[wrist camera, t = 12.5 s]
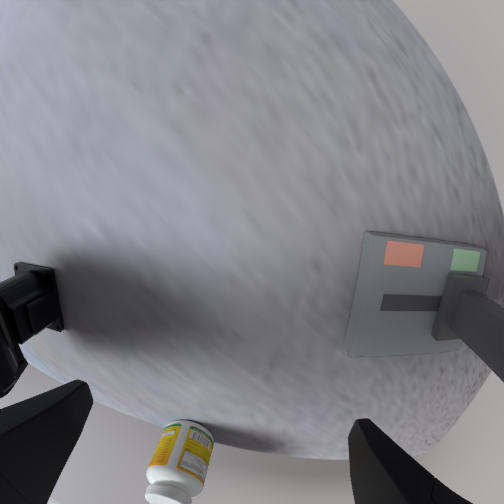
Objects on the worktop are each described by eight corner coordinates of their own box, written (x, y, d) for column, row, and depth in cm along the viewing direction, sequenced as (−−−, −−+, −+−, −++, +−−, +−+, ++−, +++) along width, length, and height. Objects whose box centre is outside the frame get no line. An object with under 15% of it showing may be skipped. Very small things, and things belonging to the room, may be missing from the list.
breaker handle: (430, 335, 18) (504, 422, 7) (447, 273, 16) (548, 339, 6) (465, 332, 17) (537, 404, 7) (481, 275, 16) (573, 331, 6)
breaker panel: (343, 343, 21) (349, 357, 19) (364, 230, 19) (374, 236, 17) (448, 339, 20) (459, 350, 18) (473, 245, 18) (488, 250, 16)
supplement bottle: (214, 423, 24) (195, 501, 14) (214, 451, 25) (199, 520, 16) (163, 413, 24) (131, 484, 15) (168, 442, 25) (143, 506, 16)
